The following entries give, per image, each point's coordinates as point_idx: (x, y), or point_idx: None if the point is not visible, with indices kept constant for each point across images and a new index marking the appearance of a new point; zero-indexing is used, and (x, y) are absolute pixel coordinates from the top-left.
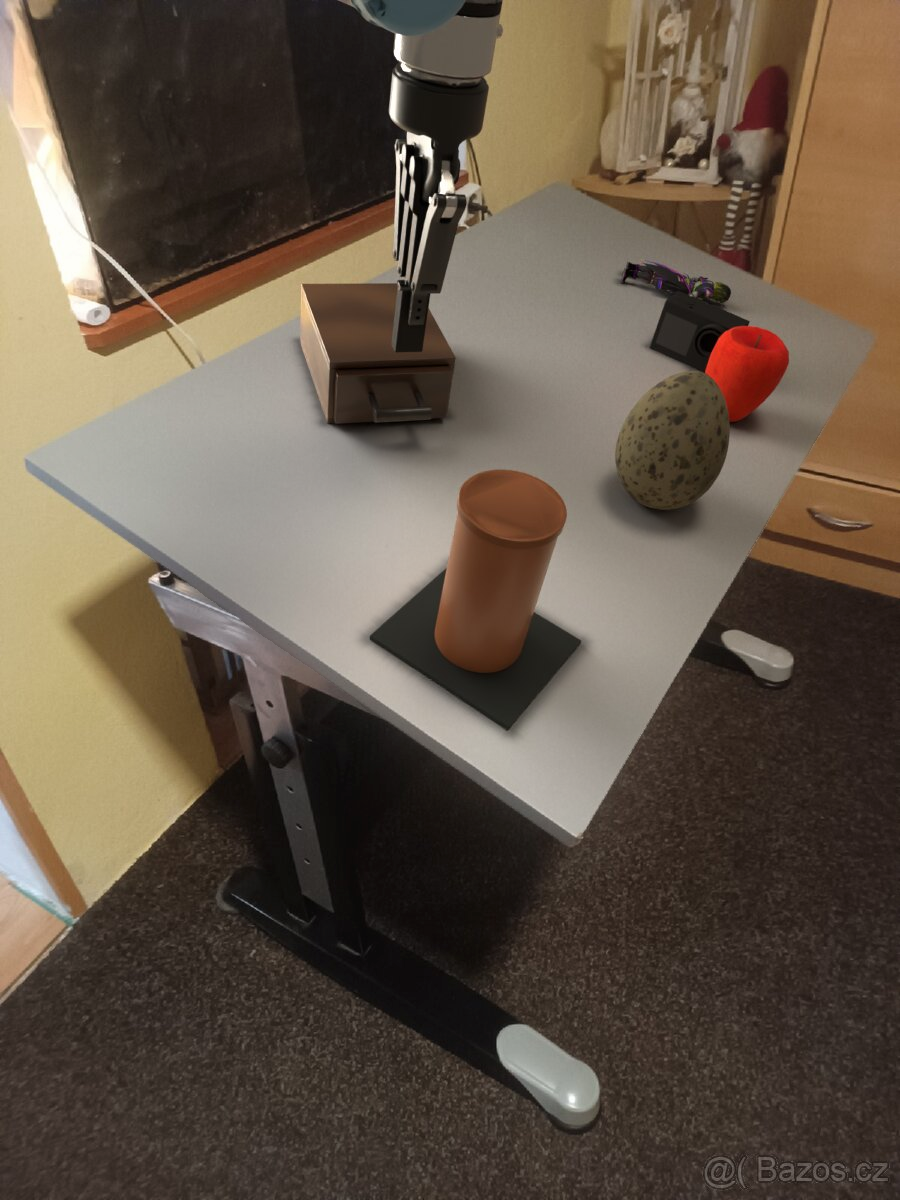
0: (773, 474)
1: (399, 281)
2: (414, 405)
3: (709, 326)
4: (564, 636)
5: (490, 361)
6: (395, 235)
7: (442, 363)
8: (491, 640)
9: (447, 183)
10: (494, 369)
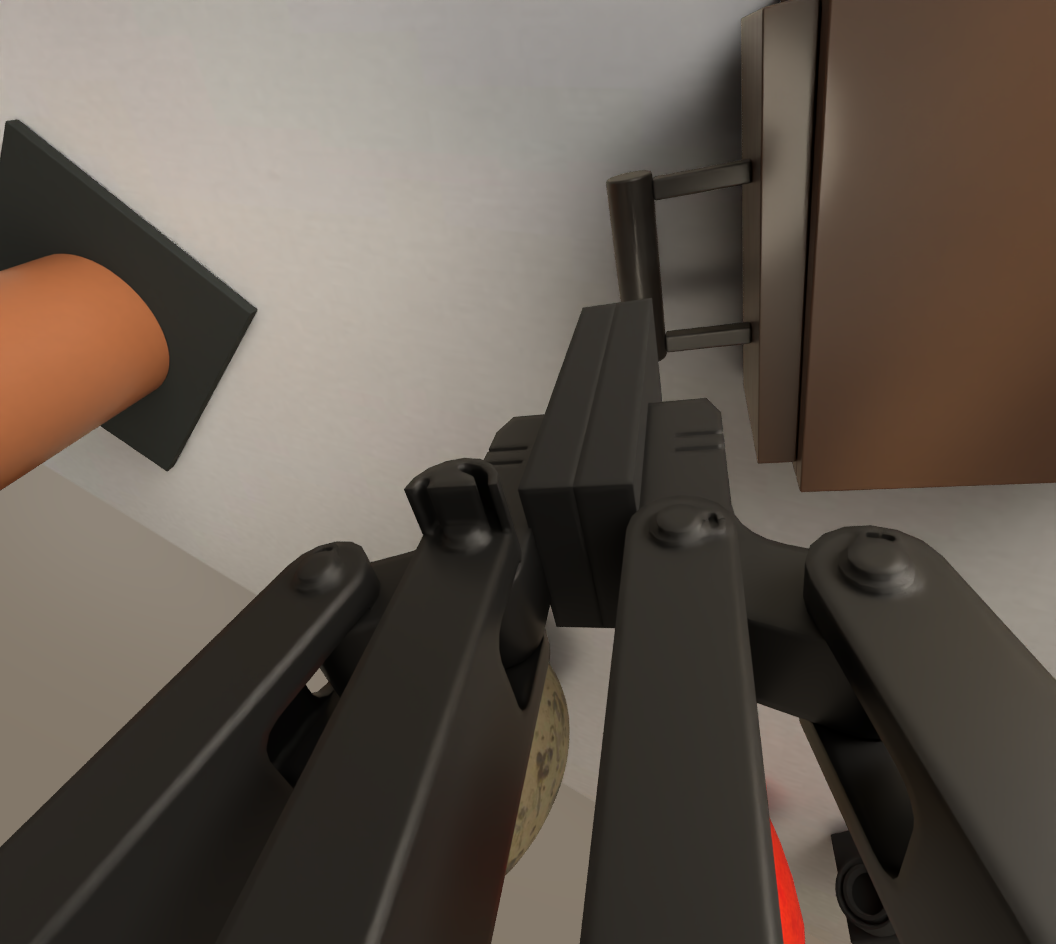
0: (576, 782)
1: (493, 494)
2: (746, 313)
3: (889, 925)
4: (163, 452)
5: (1031, 542)
6: (998, 715)
7: (799, 445)
8: None
9: None
10: (985, 541)
